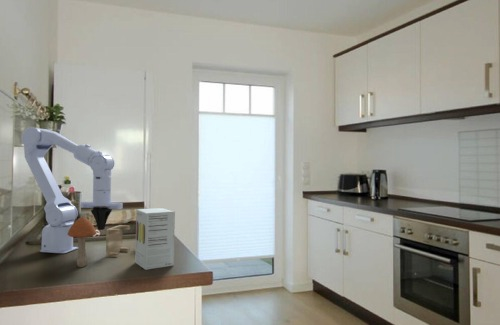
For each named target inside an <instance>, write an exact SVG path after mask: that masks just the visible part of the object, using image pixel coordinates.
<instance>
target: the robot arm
mask: <svg viewBox="0 0 500 325" xmlns="http://www.w3.org/2000/svg"><path fill="white" fill-rule="evenodd" d="M20 140H21V143H22V144H23V151H24V152H23V153H24V159H25V161H26V163H27V166H28V167H29V169H30V172H31V174H32V175H33V177H34V179H35V182H36V183H37V186H38V187H39V189H40V191H41V194H42V196H43V198H44V199H45V202H46V204H45V205H44V207H43V210H44V212H45V220H46V222H47V224H46V225H44V227H43V229H42V232H41V249H40V250H39V253H53V254H66V253H69V252H72V251H75V250H78V246H74V237H71V236H69V235H68V231H69V229H70V228H71V226H72V225H73V224H74V222H75V221H76V220H77V218H78V214H79V212H78V209H77V207H76V206H75V205H73V204H72V202H71V200H70V199H69V198H67V197H65V196H64V195H63V193H62V191H61V189H60V187H59V185H58V183H57V181H56V179H55V177H54V174H53V173H52V171H51V169H50V166H49V164H48V162H47V160H46V158H45V156H46V154H47V152H48V151H49V150H50V149H51V148H52V146H54V145H55V146H56V147H59V148H61V149H63V150H66V151H68V152H69V153H72V154H73V157H74V159H75V160H77V161H79V162H81V163H83V164H85V165H87V166H88V167H89V168H90V169H91V171H92V177H93V180H92V182H93V183H92V184H93V185H92V201H81V202H80V208H81V209H82V208H83V209H85V208H89V209H91V210H90V212H91V214H92V216H93V218H94V220H95V223H96V227H97V230H99V231H102V230H105V228H106V224H107V221H108V218H109V216H110V214H111V213H112V210H122V209H123V208H124V207H123V206H124V203H123V202H111V201H112V199H111V198H112V170H113V169H114V167H115V160H114V159H113V157H112V156H110V155H109V154H103V152H102V151H101V150H96V149H94V148H92V147H91V145H90V144H87V143H86V144H84V143H82V144H77V143H76V142H74V141H72V140H70V139H68V138H67V137H65V136H64V135H62V134H60V133H59V132H57V131H54V130H52V129H49V128H46V129H45V128H39V127H34V126H29V127H27V128H25V130H24V131H23V133H22V134H21V137H20Z"/></svg>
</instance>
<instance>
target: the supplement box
mask: <svg viewBox="0 0 500 325" xmlns="http://www.w3.org/2000/svg"><path fill="white" fill-rule="evenodd" d="M135 211H136V213H135V214H136V216H135V217H136V218H135V219H136V220H135V223H136V224H135V251H134V252H135V253H134V255H135V257H134V261H135V264H137V265H138V266H139V267H141V268H143V270H145V271H147V270H153V269H159V268H166V267H173V266H174V265H175V264H174V263H175V262H174V259H175V228H176V226H175V224H176V223H175V222H176V212H175V211H174V210H169V209H166V208H164V207H159V208H158V207H157V208H138V209H136V210H135Z"/></svg>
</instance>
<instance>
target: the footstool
mask: <svg viewBox="0 0 500 325" xmlns="http://www.w3.org/2000/svg"><path fill="white" fill-rule="evenodd" d="M123 230H125V231H127V230H131V225H125V224H124V225H122V224H119V225H115V226H112V227H109V228H107V229H106V233H105V234H106V235H105V239H106V240H105V257H106V258H120V252H121V253H122V252H123V253H129V252H131V251H130V250H131V248H130V247H123Z"/></svg>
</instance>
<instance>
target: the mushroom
mask: <svg viewBox="0 0 500 325" xmlns="http://www.w3.org/2000/svg"><path fill="white" fill-rule="evenodd" d="M68 235H69V236H71V237H73V238H76V239H77V247H78V249H77V255H76V266H77V267H78V268H83V267H86V266H87V264H88V255H87V251H86V238H90V237H93V236H95V235H97V231H96V229H95V226H94V224H93V223H92V222H91V221H90V220H89V219H88V218H87V217H84V216H81V217H79V218H78V219H76V220H74V224H73V225H72V226H71V228H70V229H69V231H68Z"/></svg>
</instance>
